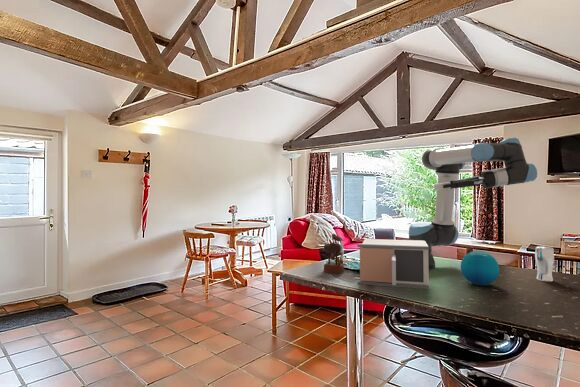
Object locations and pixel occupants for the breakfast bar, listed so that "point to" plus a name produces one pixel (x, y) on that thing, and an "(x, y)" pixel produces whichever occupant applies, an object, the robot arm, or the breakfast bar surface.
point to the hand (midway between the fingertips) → (434, 187)
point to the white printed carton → (544, 263)
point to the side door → (377, 265)
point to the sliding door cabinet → (404, 262)
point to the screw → (342, 252)
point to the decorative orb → (479, 268)
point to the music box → (333, 248)
